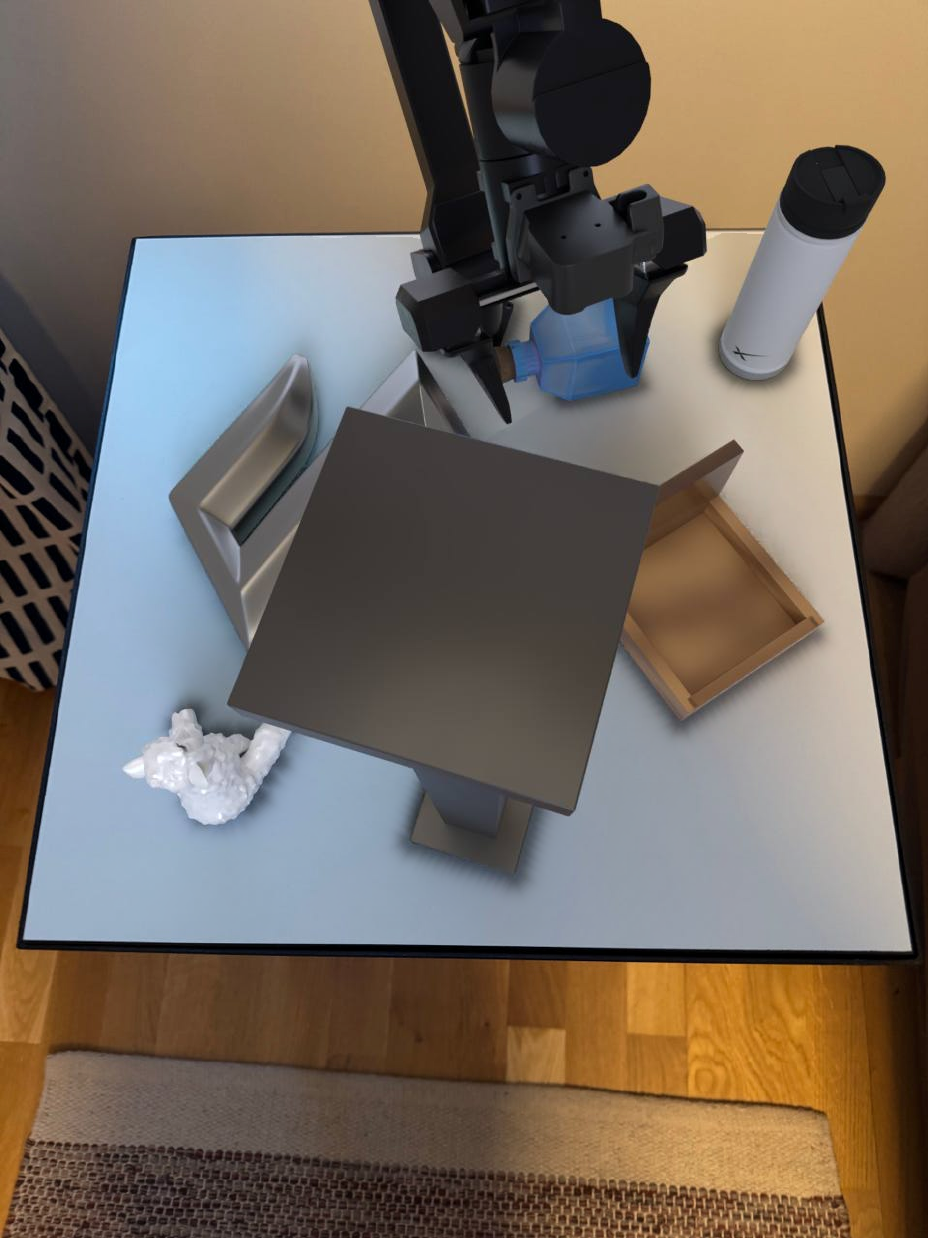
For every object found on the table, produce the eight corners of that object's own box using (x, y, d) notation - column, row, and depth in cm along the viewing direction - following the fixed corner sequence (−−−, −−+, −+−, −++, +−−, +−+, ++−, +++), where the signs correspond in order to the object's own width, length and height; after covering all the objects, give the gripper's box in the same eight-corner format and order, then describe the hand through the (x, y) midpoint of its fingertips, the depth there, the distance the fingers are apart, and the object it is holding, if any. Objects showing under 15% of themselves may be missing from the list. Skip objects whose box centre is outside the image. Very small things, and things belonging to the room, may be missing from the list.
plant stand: (443, 740, 65) (346, 404, 21) (543, 770, 64) (660, 485, 20) (410, 842, 62) (225, 704, 19) (514, 875, 61) (575, 811, 18)
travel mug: (730, 390, 74) (814, 214, 55) (709, 329, 76) (782, 139, 57) (799, 377, 74) (906, 197, 55) (775, 316, 76) (871, 123, 57)
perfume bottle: (616, 328, 76) (488, 358, 75) (626, 281, 70) (488, 312, 70) (637, 385, 74) (506, 415, 74) (650, 340, 68) (507, 373, 68)
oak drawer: (574, 580, 68) (588, 529, 59) (701, 500, 70) (734, 438, 61) (680, 721, 64) (712, 691, 55) (811, 633, 66) (864, 588, 57)
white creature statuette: (298, 719, 65) (257, 681, 54) (282, 832, 63) (236, 817, 51) (179, 711, 66) (114, 672, 54) (158, 823, 63) (85, 806, 52)
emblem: (188, 328, 71) (516, 340, 70) (208, 366, 76) (514, 378, 75) (124, 643, 62) (499, 664, 61) (151, 663, 67) (498, 682, 66)
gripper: (406, 221, 40) (478, 497, 50) (754, 103, 42) (760, 391, 51) (361, 189, 49) (430, 429, 58) (651, 93, 51) (672, 341, 60)
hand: (570, 398), depth 57 cm, fingers open, 9 cm apart
